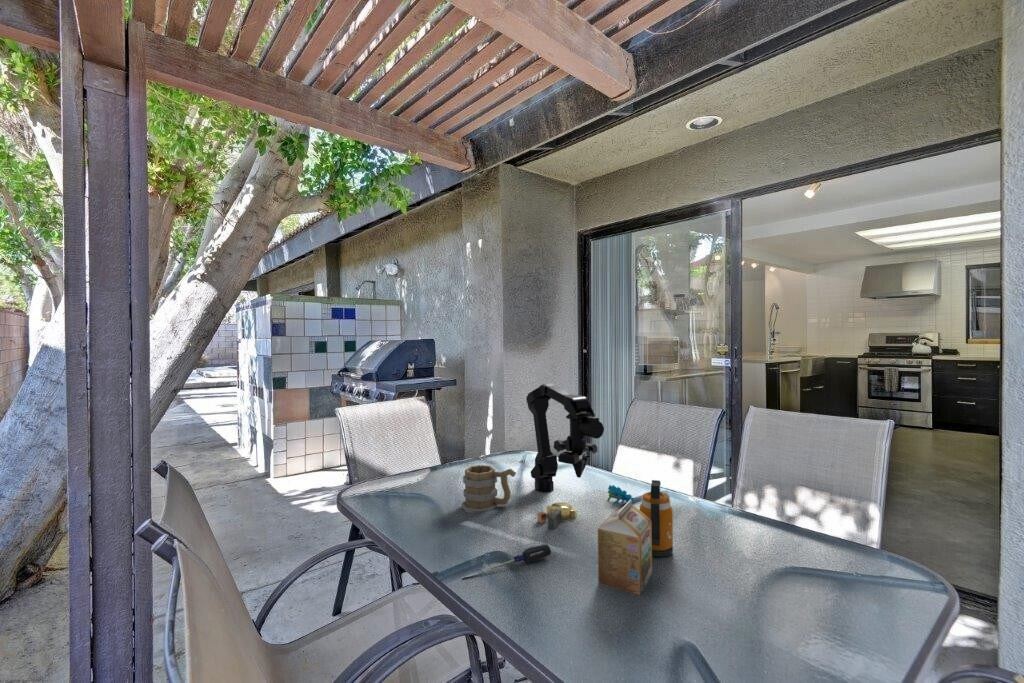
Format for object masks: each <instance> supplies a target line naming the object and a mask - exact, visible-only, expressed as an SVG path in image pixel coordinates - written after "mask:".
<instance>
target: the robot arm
mask: <svg viewBox="0 0 1024 683" xmlns="http://www.w3.org/2000/svg"><path fill="white" fill-rule="evenodd" d="M551 399H552V400H553V401H556V402H557V403H559V404H561V405H562V406H563V409H564V410H565V411H566V412H567V413H568V414H567V415H566V416H565V418H566V419H567V420H569V435H567V437H566V439H562V440H561V439H557V440H554V441H553V449H554V450H555V451H556V452H557V453H559V452H561V451H563V452H561V453H560V454H559V455H558V456H557V455H556V454H554V453H553V452H552V450H551V444H550V436H549V427H548V421H547V420H548V419H547V412H548V409H549V406H550V404H549V402H550V400H551ZM525 400H526V403H527V404H526V405H527V409H528V410H529V412H531V414H532V416H533V424H534V431H535V438H536V446H537V453H536V456H535V458H534V467H533V468H531V470H530V477H531V478H532V479H534V490H536V492H539V493H551V492H553V491H554V488H555V486H554V481H553V477H556V476H557V471H558V466H559V463H562V464H570V465H572V466H573V469H574V473H575V476H576V477H577V478H581V477H582V474H583V472H584V470H585V468H586V466H587V464H588V463H589V462H588V461H589V460H590V459H591V456H590V455H588V454H587V453H588V452H591V453H592V454H596V453H598V446H597V444H596V443H591V442H587V440H588V439H589V438H592V439H600V438H601V437H603V435H604V431H605V427H604V424H603V423H602V421H601V422H600V418H599V417H598V416H597V417H596V414H595V413H594V410H593V408H592V406H591V404H590V402H589V399H588V398H587V397H586V396H584V395H579V394H571V393H570V392H568V391H566V390H564V389H561V388H560V387H558V386H556V385H555V384H554V383H551V382H550V383H543V384H541V385H539V386H538V387H537V388H535V389H533V390H531V391H529V392H528V393H527V396H526V399H525ZM565 450H566V451H565ZM558 462H559V463H558Z"/></svg>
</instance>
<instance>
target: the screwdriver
mask: <svg viewBox="0 0 1024 683" xmlns="http://www.w3.org/2000/svg"><path fill="white" fill-rule="evenodd" d="M551 552H552V550H551V547H550V545H548V543H547V544H546V543H545V544H541V545H536V546H533V547H528V548H526V549H525V550H524V551H523V552H522V554H520V555H515V556H513V559H510V560H509V561H505V562H502V563H499V564H495V565H494V566H491V567H487V568H484V569H483V570H488V569H492V570H494V569H493V568H495V569H497V567H498V568H501V567H503V566H506V565H509V564H512V563H518V562H525V563H526V562H532V563H534V561H535V562H537V561H539V560H542V559H544V558H546V557H548V556H550V555H551Z"/></svg>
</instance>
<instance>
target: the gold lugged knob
mask: <svg viewBox="0 0 1024 683" xmlns="http://www.w3.org/2000/svg"><path fill="white" fill-rule="evenodd" d="M577 512H578V508H577V509H576V508H573V505H572V504H571V503H567V502H555V503H552V504H551V505H550V504H549V505H547V506H546V515H549V516H548V518H547V529H549V530H555V529H556V528H557V527H558V525H559V524H560V523H561V521H564V520H568V519H576V518H577V517H578V513H577Z"/></svg>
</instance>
